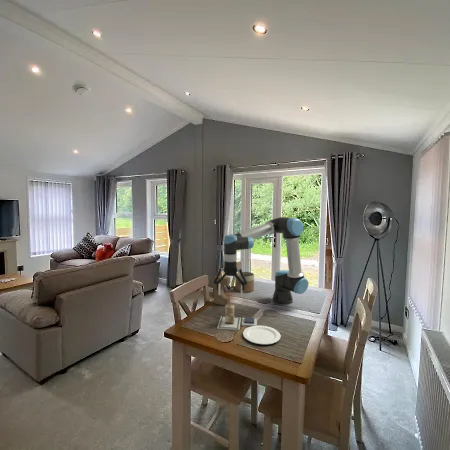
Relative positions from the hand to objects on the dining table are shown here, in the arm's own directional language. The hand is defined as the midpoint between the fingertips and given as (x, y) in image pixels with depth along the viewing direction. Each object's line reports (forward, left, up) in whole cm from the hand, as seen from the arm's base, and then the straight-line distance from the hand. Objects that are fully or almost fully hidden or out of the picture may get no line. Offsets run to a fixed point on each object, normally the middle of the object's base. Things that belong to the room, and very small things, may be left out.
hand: (230, 294), depth 160 cm
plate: (-19, +13, -18) cm, 29 cm away
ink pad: (-12, -2, -18) cm, 21 cm away
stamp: (0, 0, -17) cm, 17 cm away
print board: (0, 0, -18) cm, 18 cm away
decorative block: (+9, -31, -18) cm, 37 cm away
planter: (-6, -65, -18) cm, 68 cm away
